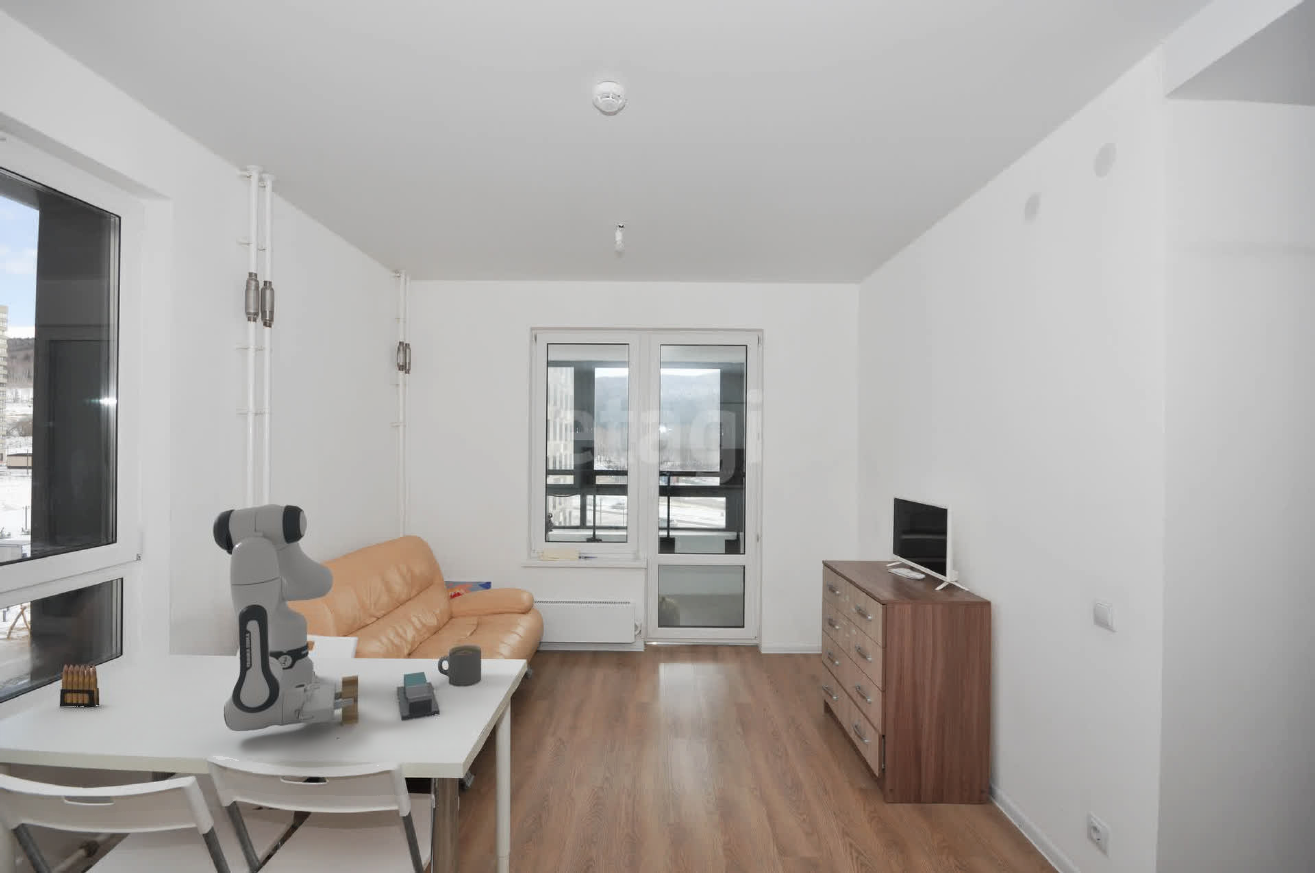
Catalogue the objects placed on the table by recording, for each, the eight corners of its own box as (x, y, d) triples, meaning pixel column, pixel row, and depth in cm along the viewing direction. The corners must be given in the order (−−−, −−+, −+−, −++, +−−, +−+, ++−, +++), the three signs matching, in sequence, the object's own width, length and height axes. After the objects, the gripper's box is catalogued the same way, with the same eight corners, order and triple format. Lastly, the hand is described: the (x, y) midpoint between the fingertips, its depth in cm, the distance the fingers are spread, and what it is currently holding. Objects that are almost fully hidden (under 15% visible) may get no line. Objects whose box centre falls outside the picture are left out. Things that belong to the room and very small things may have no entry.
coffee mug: (485, 675, 218) (485, 645, 218) (474, 687, 208) (474, 655, 208) (446, 674, 219) (446, 644, 219) (433, 685, 209) (433, 653, 209)
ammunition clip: (59, 706, 192) (59, 665, 193) (65, 704, 194) (65, 663, 194) (93, 707, 192) (94, 666, 192) (99, 705, 194) (99, 664, 194)
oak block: (342, 720, 183) (342, 677, 183) (357, 718, 184) (358, 675, 184) (341, 725, 179) (341, 681, 180) (357, 723, 181) (358, 679, 181)
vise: (396, 690, 205) (396, 677, 205) (430, 685, 209) (430, 672, 209) (401, 720, 183) (401, 705, 183) (439, 714, 187) (439, 699, 187)
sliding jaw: (403, 684, 206) (403, 674, 206) (424, 681, 209) (424, 671, 209) (406, 697, 195) (406, 687, 195) (427, 694, 198) (427, 684, 198)
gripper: (293, 708, 167) (353, 699, 173) (299, 681, 186) (353, 674, 191) (293, 733, 167) (353, 723, 173) (299, 704, 186) (353, 696, 191)
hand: (353, 697), depth 182 cm, fingers closed on oak block, 3 cm apart
